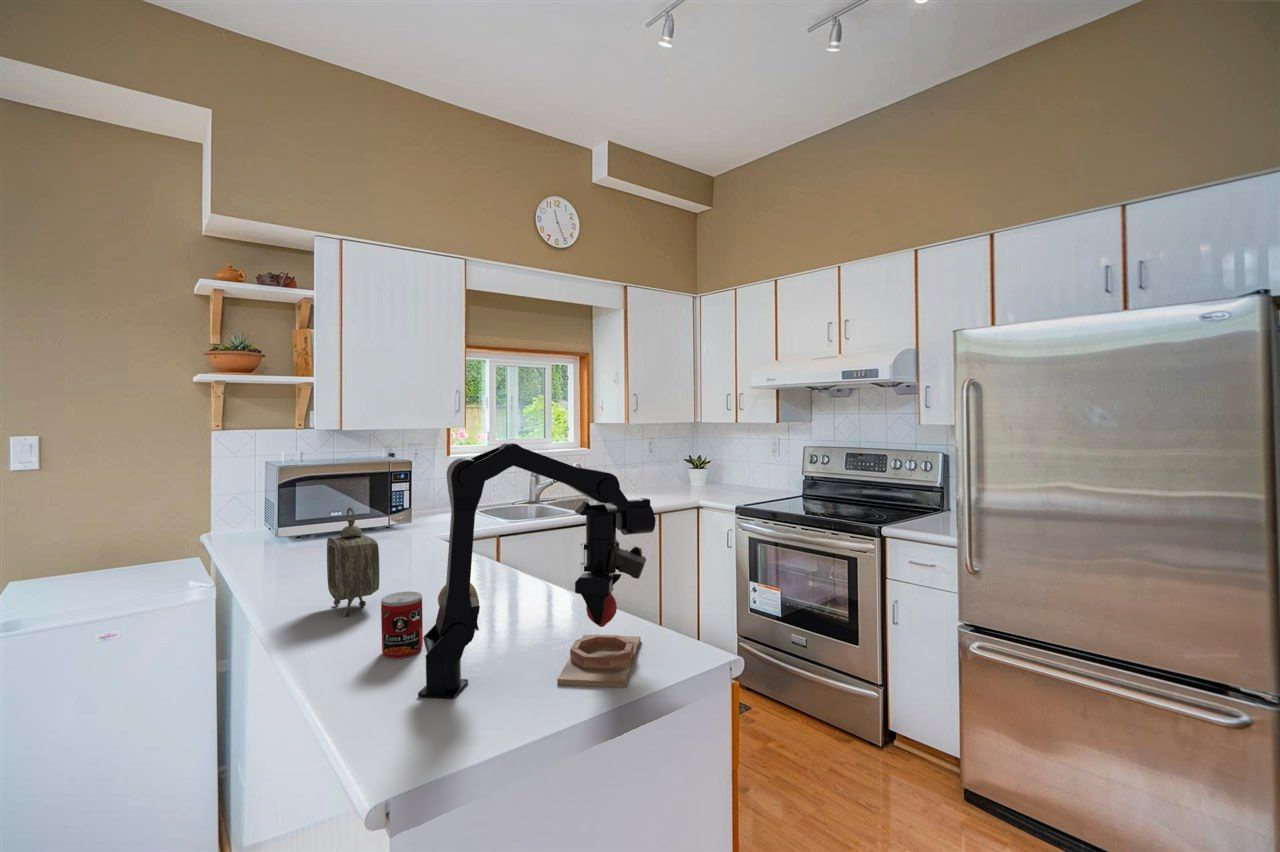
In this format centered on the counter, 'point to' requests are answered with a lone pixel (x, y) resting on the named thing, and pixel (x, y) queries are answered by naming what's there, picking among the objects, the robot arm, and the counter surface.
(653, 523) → the robot arm
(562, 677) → the onion holder
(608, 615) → the onion
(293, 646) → the counter surface
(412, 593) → the canned food
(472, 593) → the natural sponge
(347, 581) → the tabletop clock
